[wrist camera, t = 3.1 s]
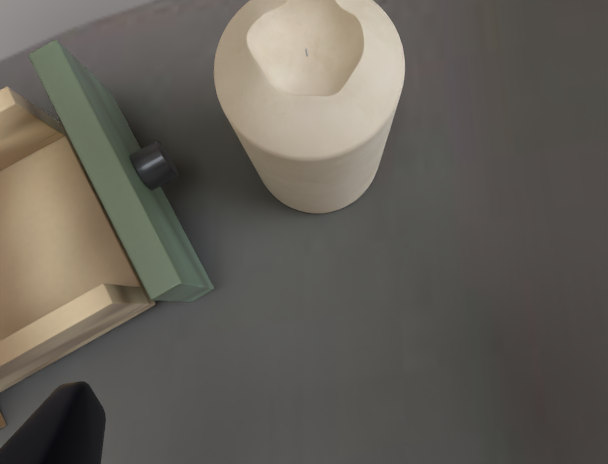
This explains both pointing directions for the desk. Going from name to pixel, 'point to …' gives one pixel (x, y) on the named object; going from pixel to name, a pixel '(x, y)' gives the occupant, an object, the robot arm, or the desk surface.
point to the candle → (311, 95)
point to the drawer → (80, 221)
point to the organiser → (2, 421)
